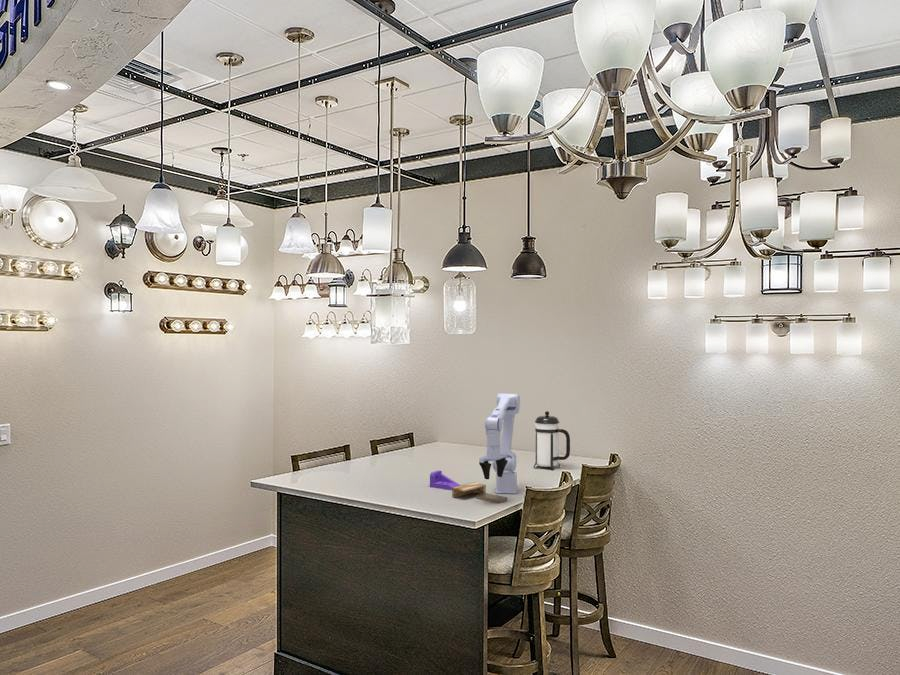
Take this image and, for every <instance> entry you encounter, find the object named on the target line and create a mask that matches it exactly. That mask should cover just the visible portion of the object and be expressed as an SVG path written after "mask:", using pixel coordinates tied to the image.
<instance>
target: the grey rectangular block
mask: <svg viewBox="0 0 900 675" xmlns="http://www.w3.org/2000/svg"><path fill="white" fill-rule="evenodd" d="M475 496H476V497H475V498H476V499H477V500H480V501H485V502H490V503H495V504H502V503H505V502H508V497H506V496H502V495H497V494H493V493H489V492H488V493H487V492H486V493H483V494H477V495H475Z"/></svg>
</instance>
